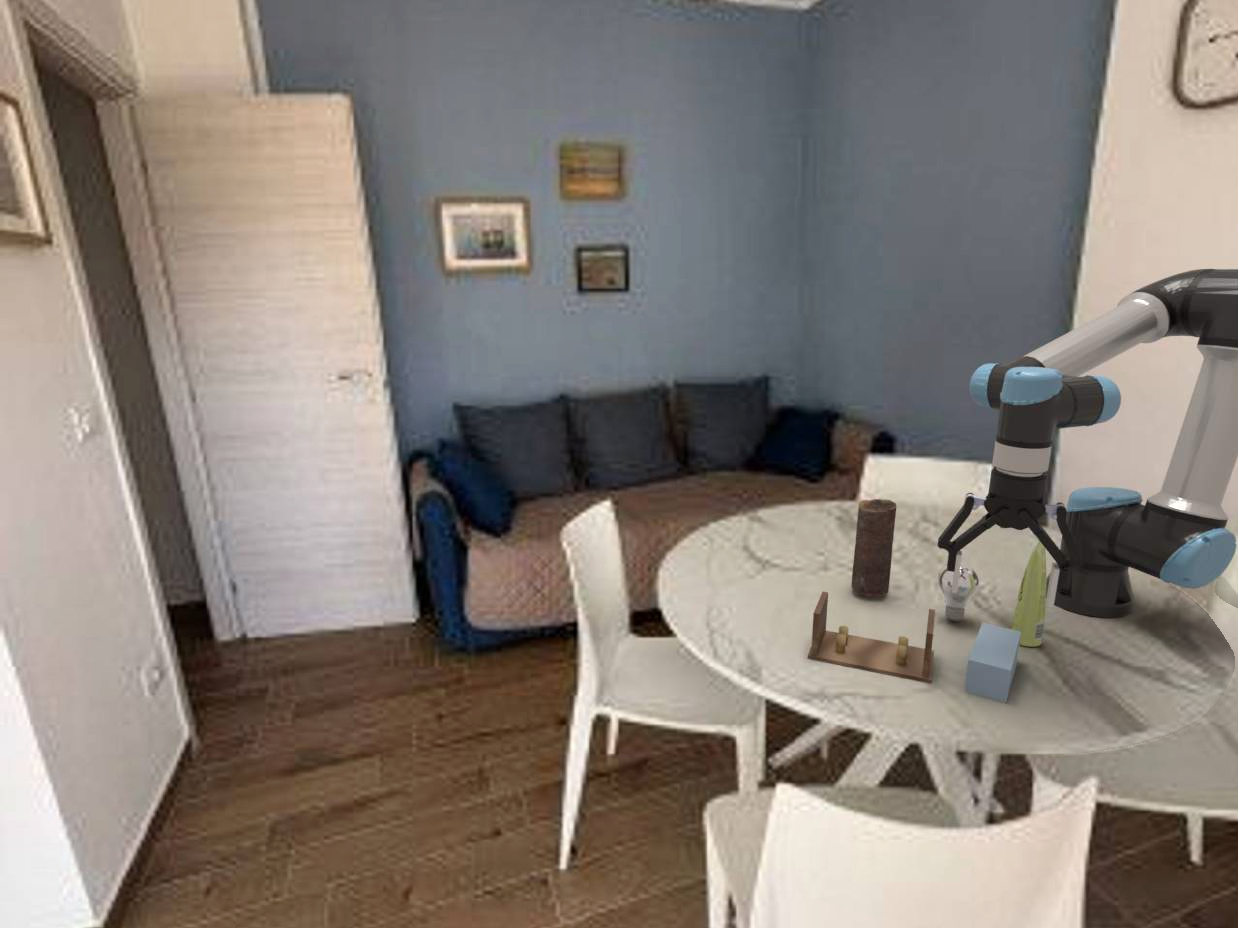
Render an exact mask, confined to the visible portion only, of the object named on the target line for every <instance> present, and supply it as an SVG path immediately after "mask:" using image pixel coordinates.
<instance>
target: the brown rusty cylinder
mask: <svg viewBox="0 0 1238 928" xmlns="http://www.w3.org/2000/svg"><path fill="white" fill-rule="evenodd" d="M857 508H858V509H857V520H856V531H855V544H854V556H853V564H852V572H851V573H852V574H851V586H850V587H851V588H852V590H853V592H854V593H855V594H857V595H859V596H869V597H875V598H878V597H883V596H886V595H887V594H888V593H889V589H890V581H891V568H892V567H891V566H892V555H893V547H894V545H893V543H894V532H895V527H896V526H895V522H896V515H897V503H896V502H894V501H892V500H891V499H887V498H884V499H882V498H873V499H870V500H869V499H864V500H861V501H860V502H859V503H858V507H857Z"/></svg>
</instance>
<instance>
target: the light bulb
mask: <svg viewBox="0 0 1238 928" xmlns="http://www.w3.org/2000/svg"><path fill="white" fill-rule="evenodd" d="M939 571H940V572H939V573H938V578H937V579H938V580H937V581H938V586H939V589H940V590H941V592H942V593H943V597H944V602H945V611H944V614H945V616H946V618H947V619H949V621H950V622H953V623H957V622H959V621H960V620H962V619H964V618H965V611H966V607H967V605H968V603H969V600H970V599H971V598H972V597H973V596H974V595H975V593H977V591H978V589H979V585H980V577H979V574H978V573H977V571H976V569H975V568H974V567H973V566H972V565H970V564H968V563H966V562H965V561H961V566H960V574H959V582H958V590H957V593H953V592H952V584H953V576H954V572H952V571H948V569H947V564H945V565H944V566H943V567H942V568H941V570H939Z"/></svg>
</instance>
